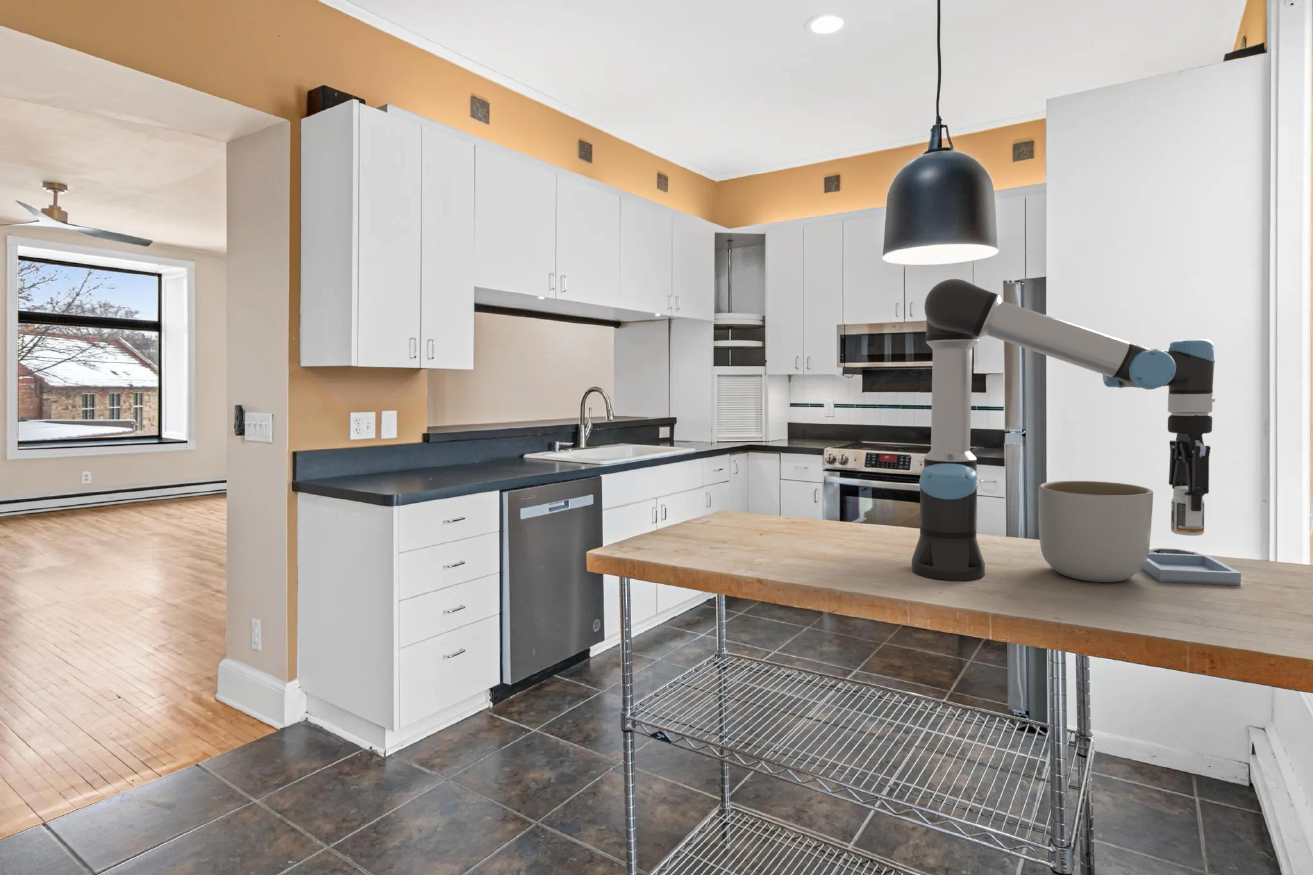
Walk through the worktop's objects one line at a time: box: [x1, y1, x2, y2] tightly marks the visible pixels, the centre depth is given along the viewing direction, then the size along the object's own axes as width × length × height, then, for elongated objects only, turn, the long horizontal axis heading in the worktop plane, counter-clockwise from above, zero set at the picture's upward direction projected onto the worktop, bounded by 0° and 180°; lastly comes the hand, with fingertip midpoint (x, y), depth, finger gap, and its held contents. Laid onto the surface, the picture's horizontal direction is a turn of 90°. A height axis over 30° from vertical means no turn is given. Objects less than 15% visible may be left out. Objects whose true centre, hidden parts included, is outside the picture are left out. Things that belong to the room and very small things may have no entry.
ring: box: [1148, 547, 1201, 555], centre depth 167 cm, size 10×10×1 cm
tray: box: [1141, 553, 1242, 586], centre depth 154 cm, size 14×15×2 cm
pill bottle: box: [1170, 486, 1205, 537], centre depth 153 cm, size 6×6×10 cm
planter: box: [1038, 480, 1154, 583], centre depth 154 cm, size 21×21×19 cm
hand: (1186, 522), depth 154 cm, fingers closed on pill bottle, 6 cm apart
